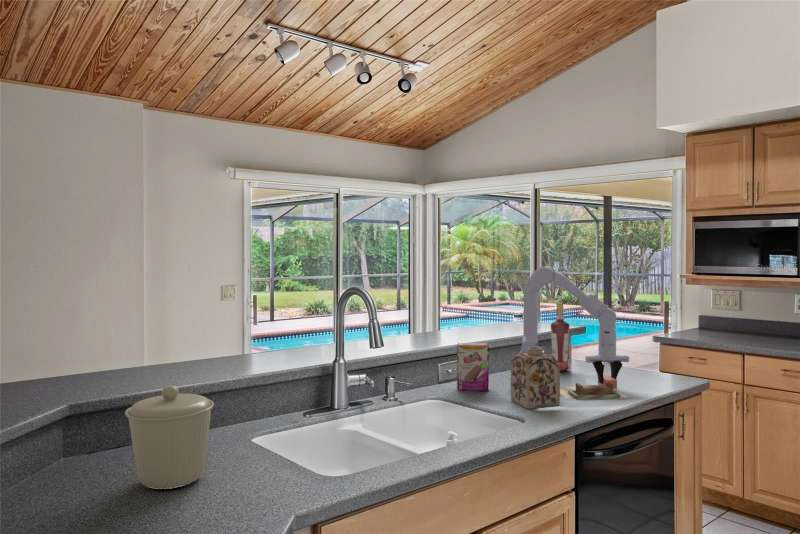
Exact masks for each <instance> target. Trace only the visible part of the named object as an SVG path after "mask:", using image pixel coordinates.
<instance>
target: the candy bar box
mask: <svg viewBox="0 0 800 534" xmlns="http://www.w3.org/2000/svg"><path fill="white" fill-rule="evenodd" d="M456 347H457V350H456V351H457V352H456V353H457V354H456V359H457V360H456V365H457V366H456V371H457V372H456V374H457V375H456V377H457V378H456V381H457V382H456V385H457V387H456V389H457V391H463V392H464V391H465V392H466V391H467V392H489V383H490V382H489V376H490V375H489V369H490V368H489V365H490V364H489V363H490V362H489V361H490V359H489V355H490V354H489V353H490V351H489V350H490V349H489V348H490V347H489V343H487V342H486V343H483V342H482V343H478V342H477V343H474V342H471V343H470V342H457V346H456Z"/></svg>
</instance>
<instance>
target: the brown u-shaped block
mask: <svg viewBox="0 0 800 534" xmlns="http://www.w3.org/2000/svg"><path fill="white" fill-rule="evenodd" d="M575 387H576V394H577V395H605V394H613V385H612V384H610V383H608V382H607V383H605V385H599V384H590V385H589V384H588V385H586V384H585V385H584V384H583V385H582V384H580V383H579V382H575Z"/></svg>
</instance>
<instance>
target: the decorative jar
mask: <svg viewBox="0 0 800 534" xmlns="http://www.w3.org/2000/svg"><path fill="white" fill-rule="evenodd" d="M539 347H540V346H539ZM539 347H532V348H528V350H527V352H522V353H520V352H519V353H517V354H516V355H515V356H514V357H513V358H512V360H511V361H510V397H511V398H510V401H511V402H513V403H515V404H517V405H520V406H521V407H523V408H525V409H527V410H533V409H543V408H545V409H546V408H552V407H556V408H557V407H560V405H559V404H560V403H561V394H560V387H561V383H560V381H561V379H560V376H561V375H560V373H561V372H560V368H559V367H560V366H559V364H558V362H557V360H556V359H555V357H554V356H553V355H552V353H551V354H550V353H547V352H543V348H542V347H540V348H539ZM547 404H548V405H547ZM550 404H554V405H550ZM555 404H558V405H555Z"/></svg>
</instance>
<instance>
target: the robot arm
mask: <svg viewBox="0 0 800 534" xmlns="http://www.w3.org/2000/svg"><path fill="white" fill-rule="evenodd" d="M551 283H552V284H551ZM549 284H551V286H558V287H561V288H563V289H564V290H565V291H567V292H568V293H569V294H570V295H572V296H573V297H574V298H576V299H577V300H578V301H579V307H581V308H582V309H583V310H585V311H586V312H587V313H588V314H589V315H591V316H592V317H593V318H596V319H597V321H598V324H599V329H598V349H597V350H598V355H585V356H584V357H585V363H587V364H590V363H592V366H593V367H594V370H595V372H596V374H597V380H598V379H599V383H601V384H603V375H604V371H605V364H604V363H609V365H610V376H611V377H612V378H614V379H616V380H617V378H618V375H619V372H620V371H621V369H622V367H623V363H630V356H628V355H620V354H619V355H618V354H617V330H616V329H617V325H616V322H617V314H616V312H615V310H614V309H613V308H611V307H609V305H608V304H605V303H603V301H601V300H600V299H599V298H598V295H597V294H595V293H594V294H593V293H591V292H590V293H585V292H584V291H583V290H582V289H580V288H579V287H578V286H577V285H576V284H575V283H574V282H573V281H572V280H570V279H569V278H568V277H567V276H566V275H565V274H563V273H561V272H560V271H558V270H555V268H554V267H553V266H550V265H544V266H540V267H539V268H537V269H536V270H534V271H532V274H531V275H530V277H529V278H528V280H527V281H526V282H525V284H524V286H523V332H522V333H523V337H522V341H521V348H520V350H519V353H522V352H527V350H528V348H532V347H539V348H541V347H540V346H539V338H538V292H539V291H540V290H542V289H543V288H544V287H545V286H546V285H549Z"/></svg>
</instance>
